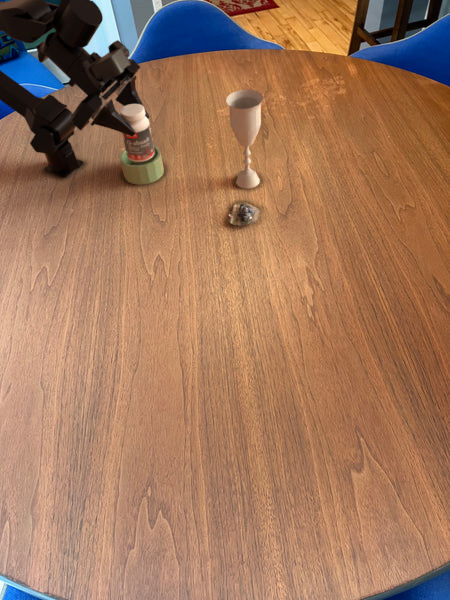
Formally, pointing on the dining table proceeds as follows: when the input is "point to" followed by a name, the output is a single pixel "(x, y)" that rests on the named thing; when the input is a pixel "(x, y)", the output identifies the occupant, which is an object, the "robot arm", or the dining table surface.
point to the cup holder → (142, 168)
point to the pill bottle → (137, 133)
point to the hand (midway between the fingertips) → (141, 126)
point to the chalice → (245, 129)
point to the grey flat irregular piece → (243, 214)
